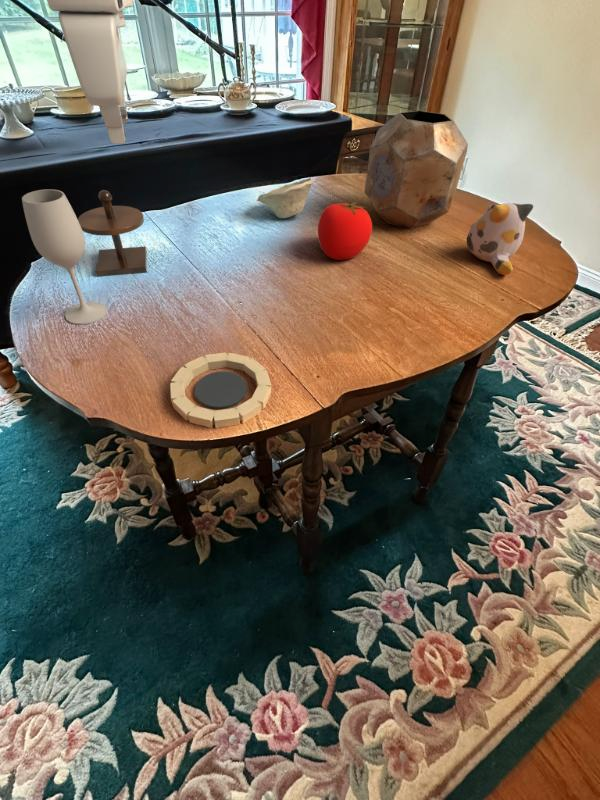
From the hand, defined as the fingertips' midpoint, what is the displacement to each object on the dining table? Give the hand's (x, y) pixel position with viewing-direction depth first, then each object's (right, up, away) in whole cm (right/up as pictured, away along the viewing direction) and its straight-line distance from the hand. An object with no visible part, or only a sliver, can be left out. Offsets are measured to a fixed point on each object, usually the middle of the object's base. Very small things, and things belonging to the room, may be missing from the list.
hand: (120, 132), depth 56 cm
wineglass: (-17, -19, +25) cm, 35 cm away
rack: (-16, -5, +39) cm, 42 cm away
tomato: (+33, 0, +46) cm, 56 cm away
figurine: (+69, -3, +45) cm, 82 cm away
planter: (+52, +15, +62) cm, 82 cm away
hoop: (+11, -33, +11) cm, 37 cm away
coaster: (+11, -33, +11) cm, 37 cm away
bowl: (+19, +15, +61) cm, 65 cm away
